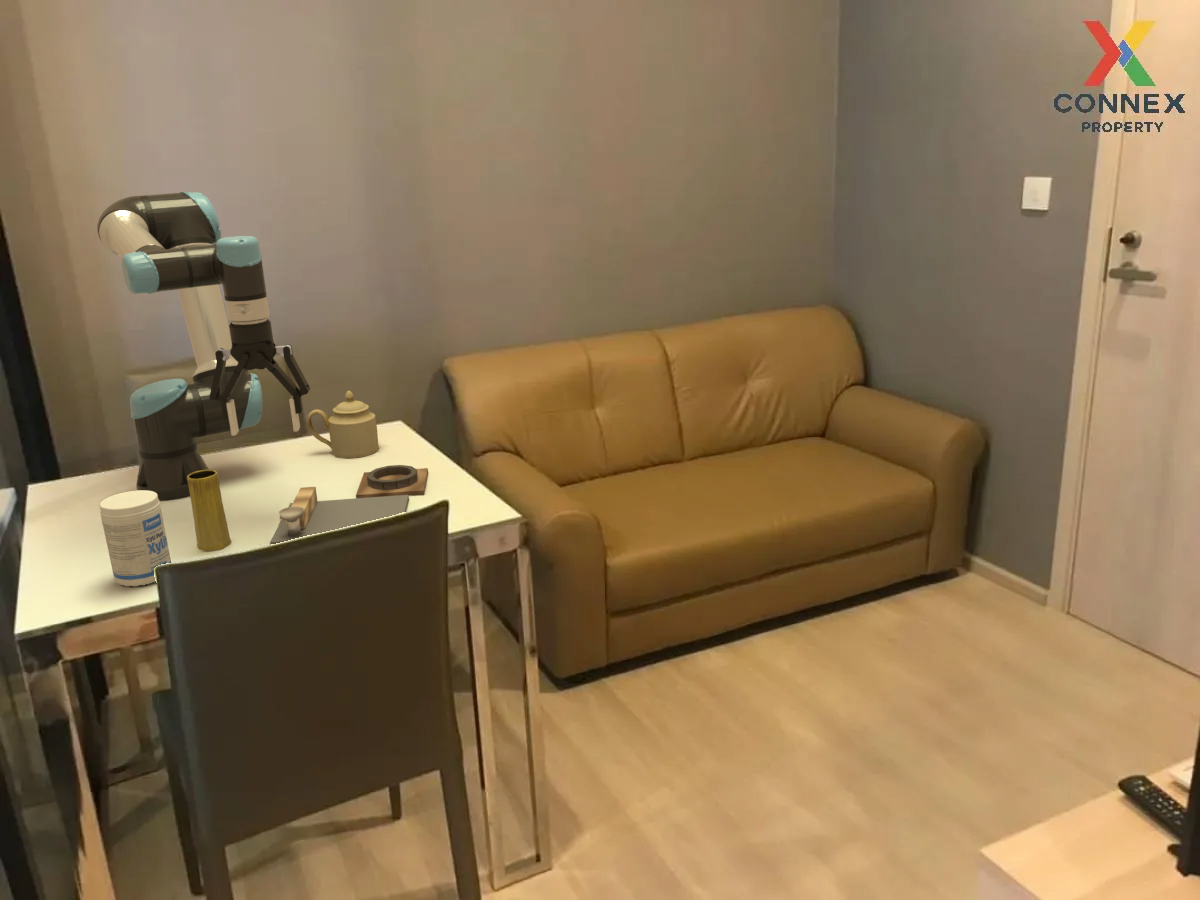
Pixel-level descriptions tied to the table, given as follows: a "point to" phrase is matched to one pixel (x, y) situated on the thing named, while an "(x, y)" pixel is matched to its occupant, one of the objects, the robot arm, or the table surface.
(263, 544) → the table surface
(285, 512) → the folding leg
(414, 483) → the socket block
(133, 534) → the supplement tub
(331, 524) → the board
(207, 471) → the vase
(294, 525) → the pivot post
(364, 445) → the sugar bowl
